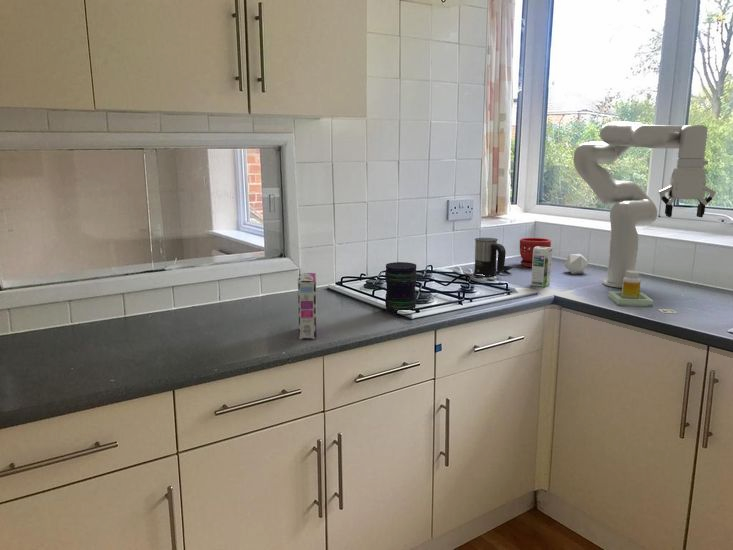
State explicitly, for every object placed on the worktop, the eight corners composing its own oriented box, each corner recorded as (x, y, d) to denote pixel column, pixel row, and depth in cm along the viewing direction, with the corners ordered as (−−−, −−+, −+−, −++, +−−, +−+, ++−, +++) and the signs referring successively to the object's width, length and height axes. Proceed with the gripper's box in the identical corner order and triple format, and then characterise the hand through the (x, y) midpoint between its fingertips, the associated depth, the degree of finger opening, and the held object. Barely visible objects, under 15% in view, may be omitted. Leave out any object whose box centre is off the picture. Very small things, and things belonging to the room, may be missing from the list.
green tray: (608, 296, 199) (608, 291, 199) (641, 297, 198) (642, 292, 197) (617, 305, 189) (618, 299, 188) (652, 306, 187) (653, 300, 187)
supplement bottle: (640, 302, 190) (643, 273, 188) (623, 301, 191) (626, 272, 189) (636, 298, 195) (639, 270, 193) (619, 297, 196) (622, 269, 194)
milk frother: (469, 275, 234) (470, 239, 231) (485, 268, 247) (486, 234, 243) (502, 279, 226) (504, 242, 223) (517, 272, 239) (519, 237, 235)
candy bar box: (317, 339, 155) (316, 281, 152) (298, 340, 155) (297, 281, 151) (317, 327, 166) (316, 272, 163) (300, 327, 166) (298, 272, 162)
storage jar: (418, 315, 178) (419, 268, 175) (386, 315, 177) (387, 268, 174) (413, 306, 188) (414, 261, 185) (383, 307, 187) (383, 262, 184)
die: (586, 277, 232) (594, 257, 234) (568, 267, 231) (577, 246, 234) (575, 280, 240) (583, 260, 242) (558, 270, 239) (566, 250, 242)
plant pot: (555, 266, 250) (557, 239, 247) (534, 270, 244) (535, 242, 241) (533, 261, 261) (535, 235, 258) (512, 264, 255) (513, 238, 252)
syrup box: (530, 285, 216) (532, 247, 213) (535, 282, 221) (537, 245, 218) (545, 287, 213) (548, 249, 210) (550, 284, 218) (552, 246, 215)
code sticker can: (657, 309, 184) (657, 308, 184) (671, 309, 183) (671, 309, 183) (662, 312, 180) (662, 312, 180) (677, 313, 179) (677, 313, 179)
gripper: (713, 164, 189) (706, 215, 192) (657, 164, 191) (652, 215, 195) (724, 164, 181) (717, 218, 185) (666, 164, 184) (660, 217, 187)
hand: (684, 216), depth 190 cm, fingers open, 9 cm apart
